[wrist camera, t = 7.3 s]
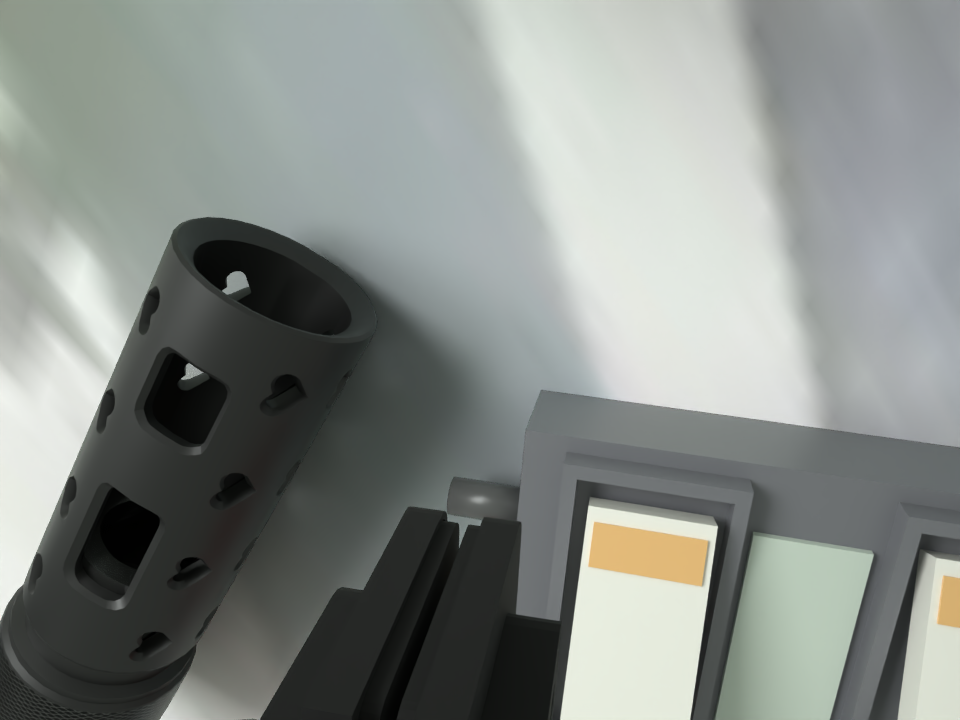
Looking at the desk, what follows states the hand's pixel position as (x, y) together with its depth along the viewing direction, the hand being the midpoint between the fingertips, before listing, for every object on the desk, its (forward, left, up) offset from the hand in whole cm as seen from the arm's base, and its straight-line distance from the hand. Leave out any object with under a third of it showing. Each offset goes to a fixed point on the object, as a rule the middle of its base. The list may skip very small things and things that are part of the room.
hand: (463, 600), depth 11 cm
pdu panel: (+14, +9, -25) cm, 30 cm away
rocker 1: (+14, +4, -18) cm, 23 cm away
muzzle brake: (+13, -19, -26) cm, 34 cm away
